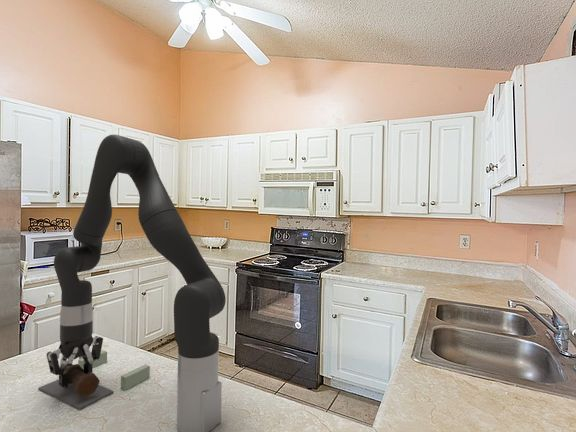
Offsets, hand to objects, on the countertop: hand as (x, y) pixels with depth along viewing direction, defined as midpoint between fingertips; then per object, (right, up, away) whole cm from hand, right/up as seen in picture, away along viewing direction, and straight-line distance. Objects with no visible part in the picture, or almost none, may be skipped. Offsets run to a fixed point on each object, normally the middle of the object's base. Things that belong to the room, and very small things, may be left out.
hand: (76, 381), depth 90 cm
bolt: (+1, -1, 0) cm, 1 cm away
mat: (0, -3, 0) cm, 3 cm away
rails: (+2, -3, +11) cm, 12 cm away
